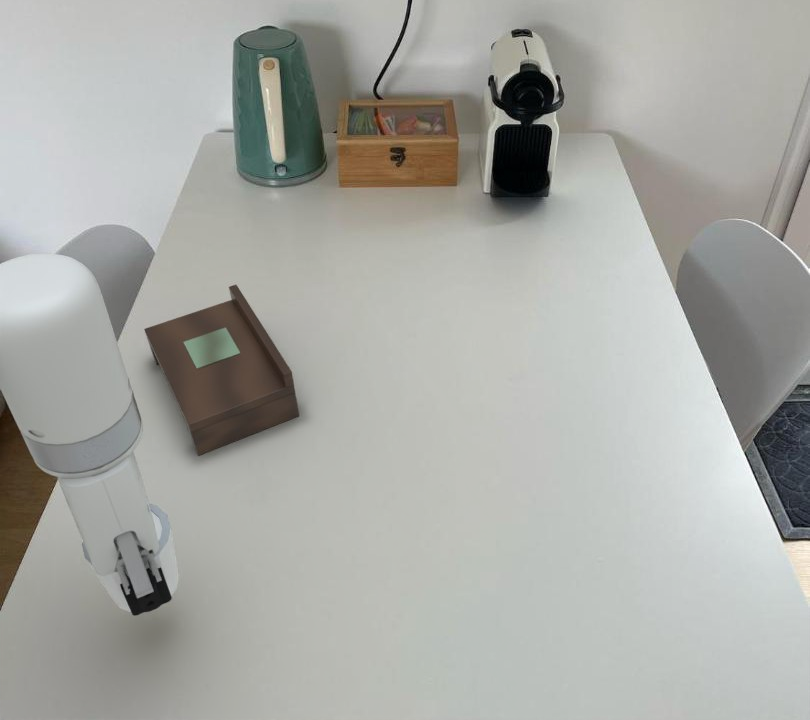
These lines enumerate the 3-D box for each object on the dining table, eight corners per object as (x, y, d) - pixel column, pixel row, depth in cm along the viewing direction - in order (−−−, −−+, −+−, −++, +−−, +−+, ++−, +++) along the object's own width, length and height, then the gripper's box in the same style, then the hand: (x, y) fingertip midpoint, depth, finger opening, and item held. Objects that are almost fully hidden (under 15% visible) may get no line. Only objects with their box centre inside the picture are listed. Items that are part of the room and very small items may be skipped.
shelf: (198, 456, 88) (184, 411, 84) (154, 359, 100) (139, 315, 95) (299, 416, 92) (291, 371, 88) (245, 327, 104) (236, 284, 99)
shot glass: (203, 571, 70) (188, 521, 65) (146, 634, 66) (126, 586, 61) (144, 537, 73) (126, 488, 68) (86, 596, 68) (62, 547, 64)
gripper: (6, 365, 60) (73, 513, 72) (49, 536, 49) (120, 678, 61) (108, 334, 63) (156, 482, 75) (171, 490, 51) (216, 634, 63)
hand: (139, 569), depth 68 cm, fingers closed on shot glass, 6 cm apart
